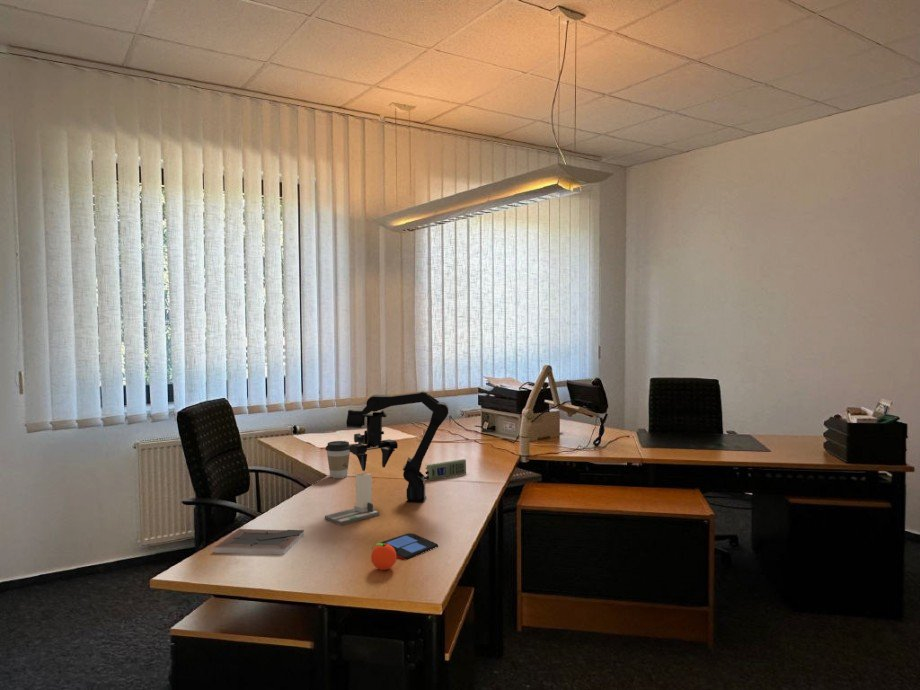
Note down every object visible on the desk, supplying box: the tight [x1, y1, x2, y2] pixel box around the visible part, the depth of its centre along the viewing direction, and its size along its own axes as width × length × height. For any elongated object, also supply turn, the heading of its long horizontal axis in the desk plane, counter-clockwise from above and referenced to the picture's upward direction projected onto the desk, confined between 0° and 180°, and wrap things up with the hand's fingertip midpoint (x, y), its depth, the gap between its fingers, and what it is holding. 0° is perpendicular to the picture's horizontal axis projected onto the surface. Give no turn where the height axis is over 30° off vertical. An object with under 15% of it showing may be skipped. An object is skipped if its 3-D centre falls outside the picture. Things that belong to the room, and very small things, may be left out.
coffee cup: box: [324, 440, 352, 479], centre depth 275 cm, size 11×11×15 cm
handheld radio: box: [424, 458, 467, 481], centre depth 272 cm, size 7×3×25 cm
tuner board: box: [324, 508, 380, 526], centre depth 218 cm, size 16×10×1 cm, turn 133°
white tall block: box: [353, 472, 375, 513], centre depth 220 cm, size 5×7×13 cm
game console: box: [380, 532, 439, 560], centre depth 187 cm, size 14×13×2 cm
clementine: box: [370, 542, 397, 571], centre depth 172 cm, size 8×7×7 cm
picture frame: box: [213, 528, 305, 555], centre depth 192 cm, size 16×2×22 cm
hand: (373, 469), depth 237 cm, fingers open, 9 cm apart
